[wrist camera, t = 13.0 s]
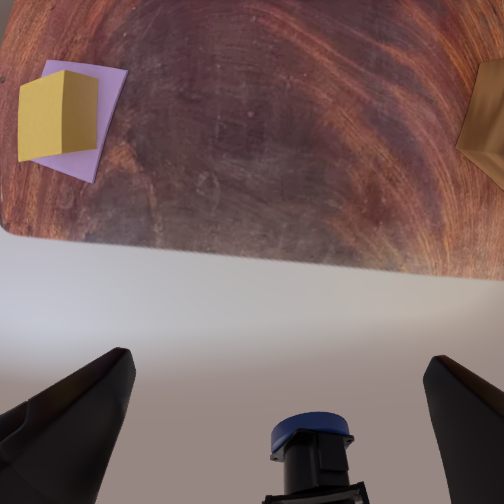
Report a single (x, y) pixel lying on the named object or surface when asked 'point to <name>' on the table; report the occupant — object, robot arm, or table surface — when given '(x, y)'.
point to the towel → (108, 94)
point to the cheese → (57, 115)
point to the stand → (486, 122)
